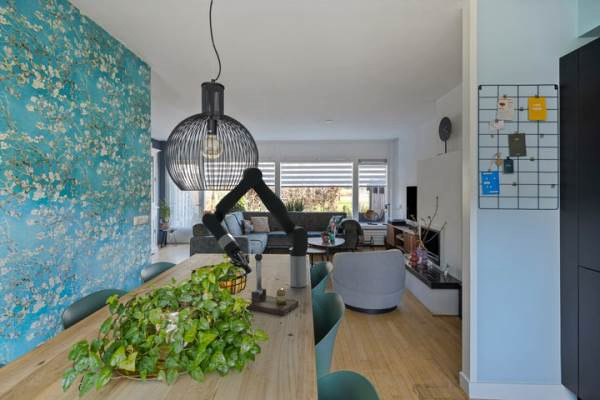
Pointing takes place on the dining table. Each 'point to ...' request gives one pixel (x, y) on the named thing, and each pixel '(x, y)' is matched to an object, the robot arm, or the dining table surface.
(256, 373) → the dining table surface
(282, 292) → the tan rounded cylinder
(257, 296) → the press base
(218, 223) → the robot arm
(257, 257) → the lever
